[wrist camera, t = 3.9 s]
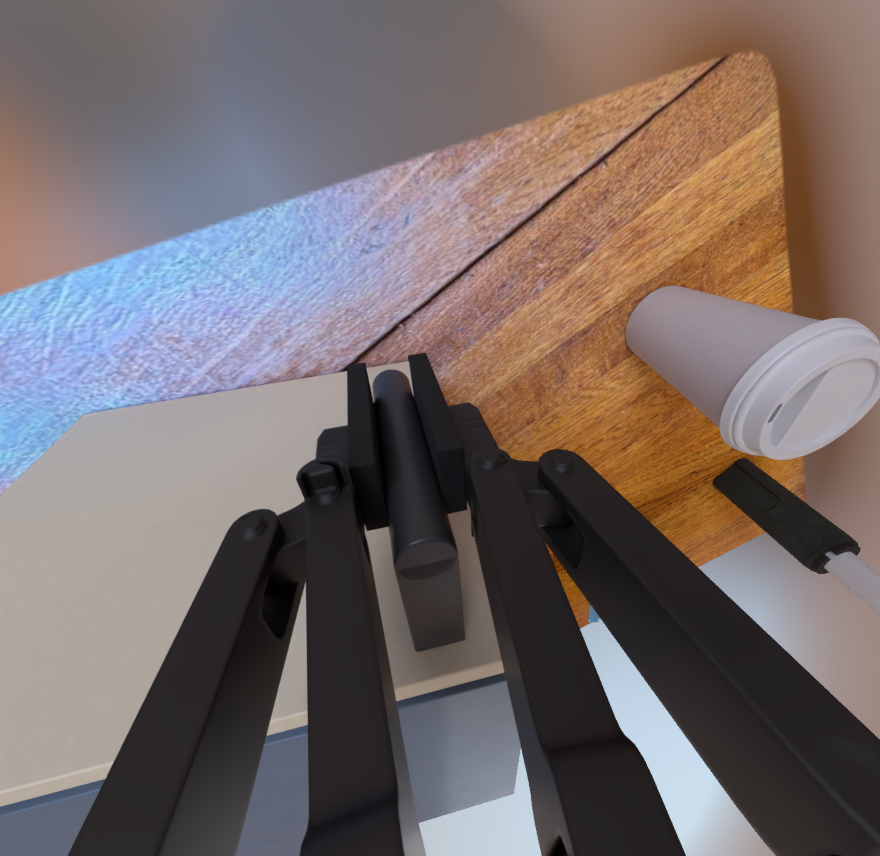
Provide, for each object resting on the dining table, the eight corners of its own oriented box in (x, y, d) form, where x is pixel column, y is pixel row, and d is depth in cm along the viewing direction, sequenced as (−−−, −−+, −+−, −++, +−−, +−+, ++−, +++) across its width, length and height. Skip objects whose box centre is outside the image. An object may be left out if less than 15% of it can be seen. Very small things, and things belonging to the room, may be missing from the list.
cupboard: (95, 425, 30) (-365, 915, 10) (422, 371, 33) (532, 674, 13) (199, 562, 40) (66, 930, 21) (439, 512, 43) (513, 793, 24)
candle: (726, 494, 53) (956, 697, 33) (709, 482, 51) (947, 694, 31) (758, 469, 51) (1024, 668, 31) (743, 455, 49) (1020, 662, 29)
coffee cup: (657, 247, 31) (858, 305, 19) (729, 290, 34) (937, 361, 22) (589, 352, 35) (715, 454, 23) (659, 380, 39) (800, 480, 27)
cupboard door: (28, 340, 25) (-916, 880, 6) (412, 286, 28) (548, 545, 9) (92, 423, 29) (-369, 906, 10) (422, 369, 32) (531, 666, 13)
